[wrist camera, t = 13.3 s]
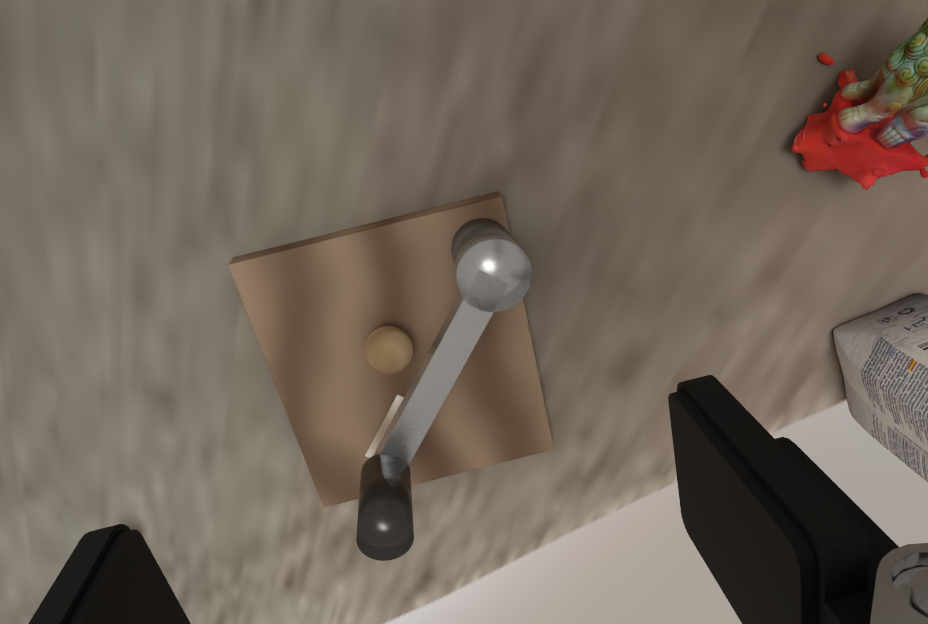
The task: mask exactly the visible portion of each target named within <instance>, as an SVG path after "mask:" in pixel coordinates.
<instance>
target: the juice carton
mask: <svg viewBox="0 0 928 624" xmlns="http://www.w3.org/2000/svg"><path fill="white" fill-rule="evenodd" d="M833 335H834V342H835V347H836V350H837V354H838V358H839V361H840V364H841V368H842V372H843V377H844V383H845V390H846V397H847V402H848V406H849V410H850V413H851V415H852V416H853V418H854V419H855V420H856V421H857V422H858V423H859V424H860V425H861V426H862V427H863V428H864V429H865V430H866V431H867V432H868V433H869V434H870V435H871V436H873V437H874V438H875V439H876V440H877V441H878V442H880V443H881V444H882V445H883V446H884V447H886V448H887V449H888V450H889V451H890V452H892V453H893V454H894V455H895V456H897V457H898V458H899V459H900V460H901V461H902V462H904V463H905V464H906V465H907V466H909V467H910V468H911V469H912V470H913V471H915V472H916V473H917V474H918V475H920V476H921V477H922V478H923V479H924V480H926V481H927V482H928V295H926V294H921V293H919V294H914V295H911V296H908V297H906V298H904V299H901V300H899V301H897V302H895V303H893V304H890V305H888V306H886V307H884V308H882V309H880V310H877V311H875V312H873V313H870V314H868V315H865V316H863V317H860V318H857V319H855V320H852V321H850V322H847V323H845V324H843V325H841V326H839V327H837V328H835V329H834V331H833Z"/></svg>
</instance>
